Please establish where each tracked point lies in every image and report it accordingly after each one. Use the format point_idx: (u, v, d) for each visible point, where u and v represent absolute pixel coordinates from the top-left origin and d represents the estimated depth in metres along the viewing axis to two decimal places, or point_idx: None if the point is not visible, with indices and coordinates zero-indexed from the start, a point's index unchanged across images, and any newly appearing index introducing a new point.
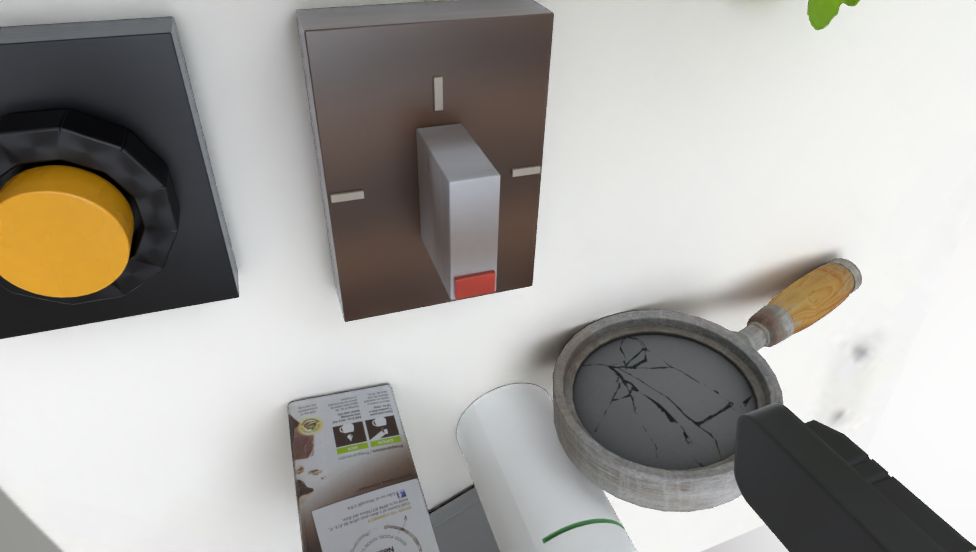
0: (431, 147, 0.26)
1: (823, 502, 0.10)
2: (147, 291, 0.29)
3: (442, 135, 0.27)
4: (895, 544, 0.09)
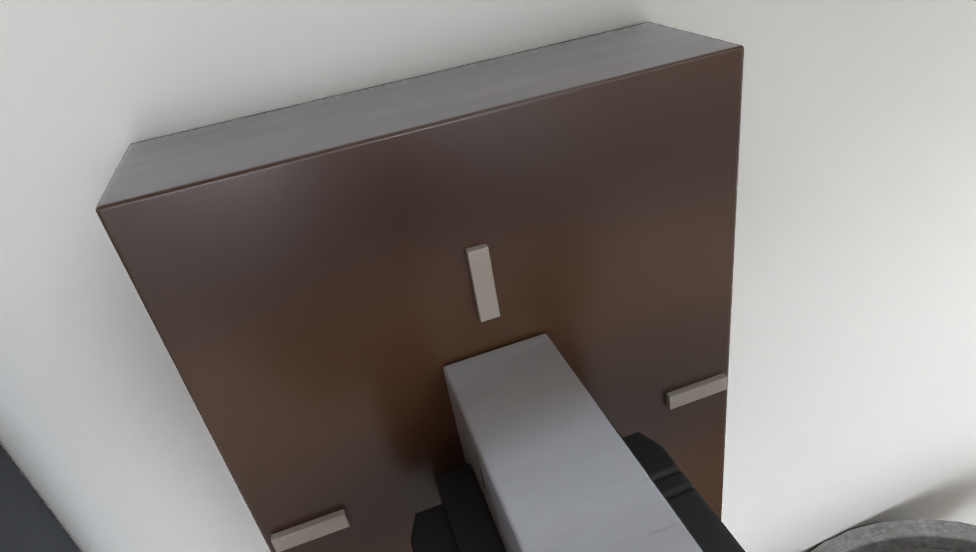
0: (483, 435, 0.10)
1: None
2: None
3: (507, 384, 0.11)
4: None
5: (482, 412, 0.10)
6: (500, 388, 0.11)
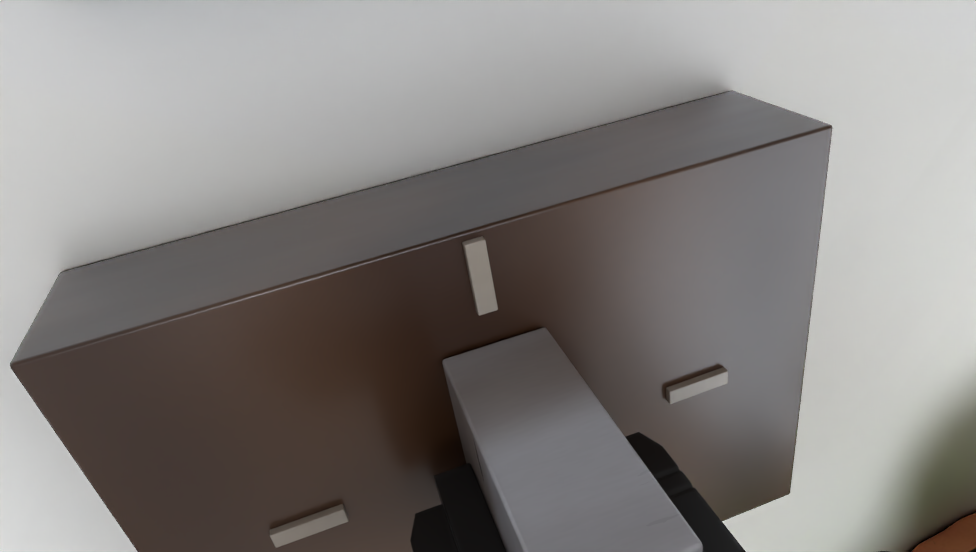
0: (481, 428, 0.10)
1: None
2: None
3: (505, 377, 0.11)
4: None
5: (481, 404, 0.10)
6: (499, 381, 0.11)
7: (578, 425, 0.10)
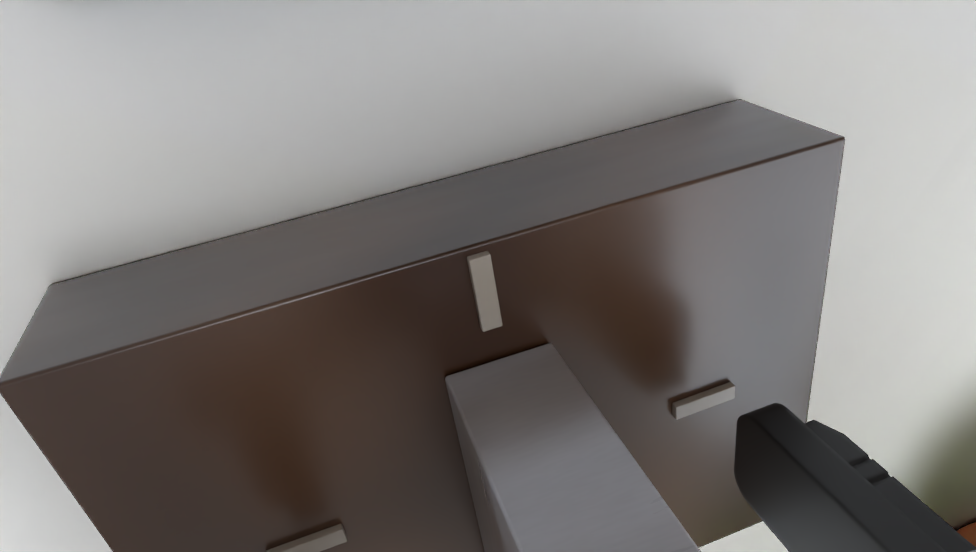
0: (486, 450, 0.10)
1: (823, 502, 0.10)
2: None
3: (511, 396, 0.10)
4: (895, 544, 0.09)
5: (486, 425, 0.10)
6: (504, 400, 0.10)
7: (587, 448, 0.09)
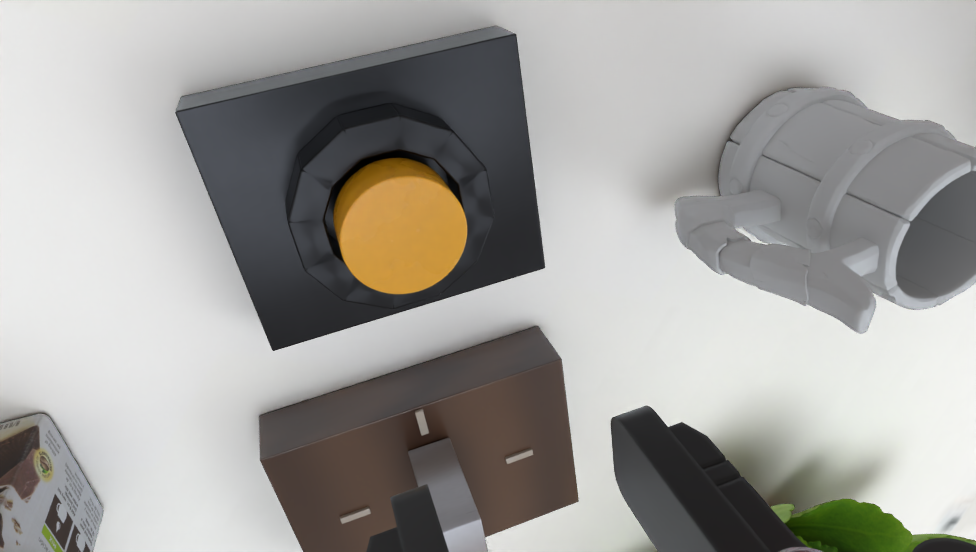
0: (420, 480, 0.28)
1: (671, 501, 0.11)
2: (273, 267, 0.25)
3: (430, 460, 0.29)
4: (723, 541, 0.10)
5: (420, 471, 0.29)
6: (428, 461, 0.29)
7: (452, 479, 0.28)
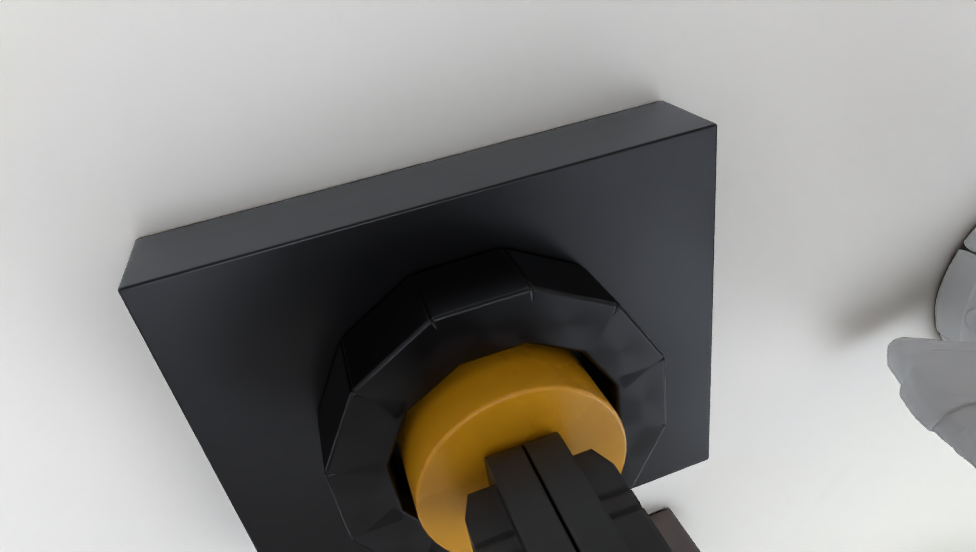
0: None
1: (567, 533, 0.10)
2: (296, 509, 0.15)
3: None
4: None
5: None
6: None
7: None
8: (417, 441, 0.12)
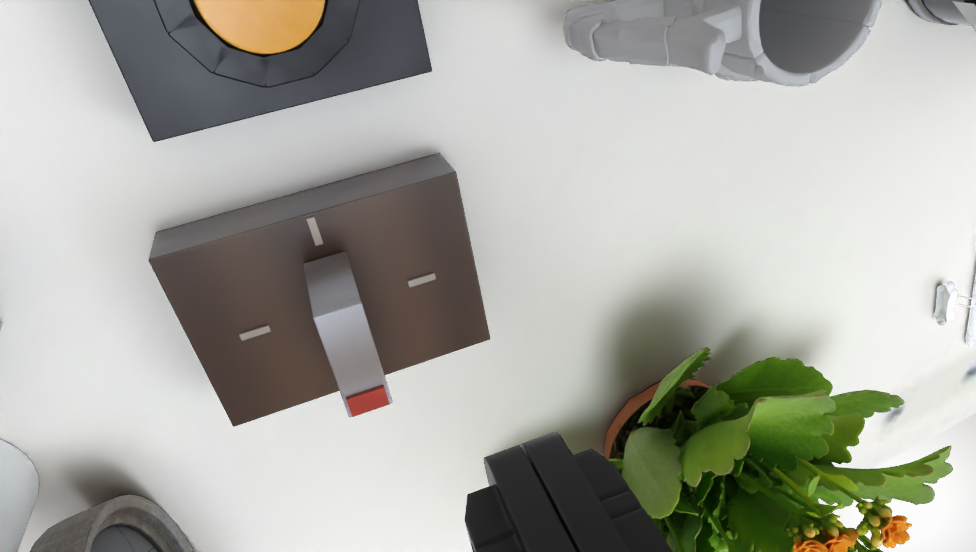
0: (309, 281, 0.29)
1: (567, 533, 0.10)
2: (144, 45, 0.25)
3: (323, 267, 0.30)
4: None
5: (312, 275, 0.29)
6: (321, 268, 0.29)
7: (341, 279, 0.28)
8: None
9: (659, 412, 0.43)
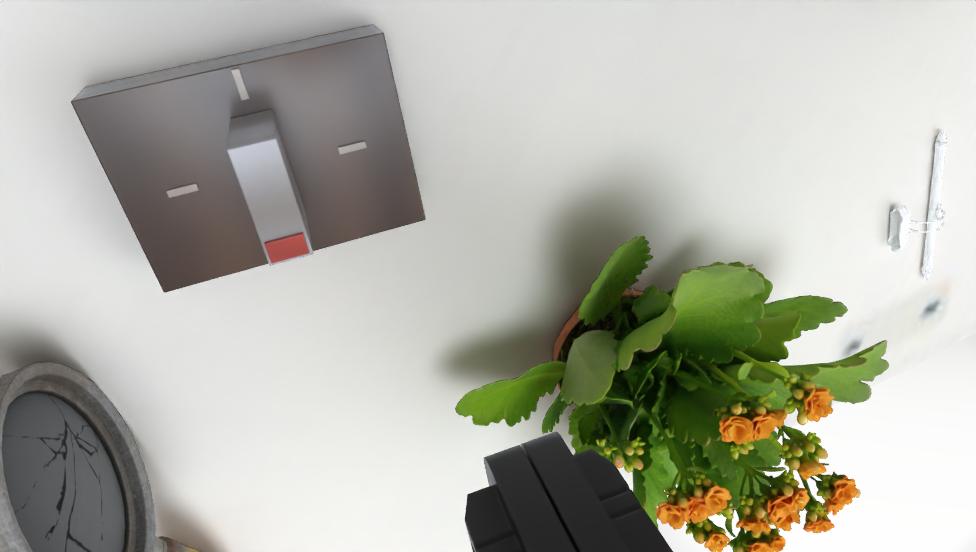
0: (231, 128, 0.29)
1: (567, 533, 0.10)
2: None
3: (248, 119, 0.30)
4: None
5: (235, 125, 0.29)
6: (245, 120, 0.30)
7: (262, 125, 0.29)
8: None
9: (603, 316, 0.43)
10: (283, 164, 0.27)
